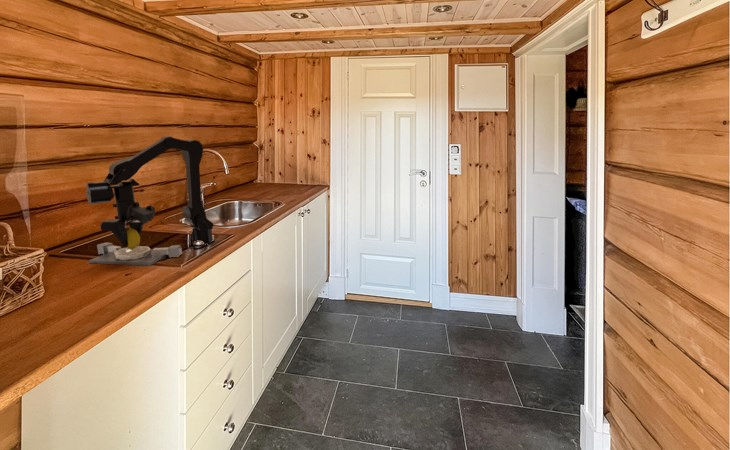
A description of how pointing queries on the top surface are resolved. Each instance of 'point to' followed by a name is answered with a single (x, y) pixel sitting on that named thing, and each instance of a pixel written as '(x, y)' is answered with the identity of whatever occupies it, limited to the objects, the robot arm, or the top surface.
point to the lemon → (133, 239)
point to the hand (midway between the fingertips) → (131, 244)
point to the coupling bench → (127, 262)
